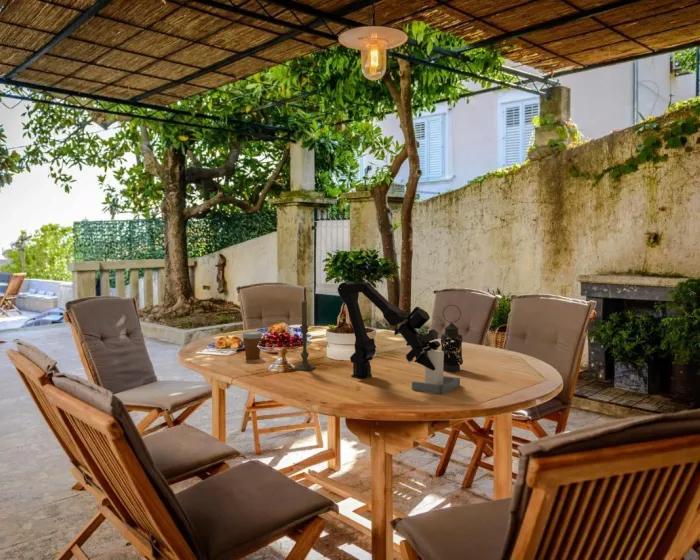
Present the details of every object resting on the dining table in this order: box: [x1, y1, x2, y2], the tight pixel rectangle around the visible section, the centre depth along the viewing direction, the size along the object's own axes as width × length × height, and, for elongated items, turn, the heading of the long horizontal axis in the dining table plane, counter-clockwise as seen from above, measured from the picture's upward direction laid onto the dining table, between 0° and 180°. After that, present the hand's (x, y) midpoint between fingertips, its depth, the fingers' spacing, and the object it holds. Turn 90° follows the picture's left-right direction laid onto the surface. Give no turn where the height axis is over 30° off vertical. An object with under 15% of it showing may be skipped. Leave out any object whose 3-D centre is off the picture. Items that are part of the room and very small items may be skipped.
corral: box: [411, 375, 461, 395], centre depth 224 cm, size 12×15×3 cm
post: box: [424, 349, 444, 385], centre depth 224 cm, size 5×5×13 cm
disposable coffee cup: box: [241, 330, 263, 360], centre depth 282 cm, size 10×10×12 cm
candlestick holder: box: [294, 299, 316, 371], centre depth 258 cm, size 9×9×30 cm
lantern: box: [440, 304, 464, 373], centre depth 252 cm, size 10×9×28 cm
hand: (437, 368), depth 223 cm, fingers closed on post, 5 cm apart
